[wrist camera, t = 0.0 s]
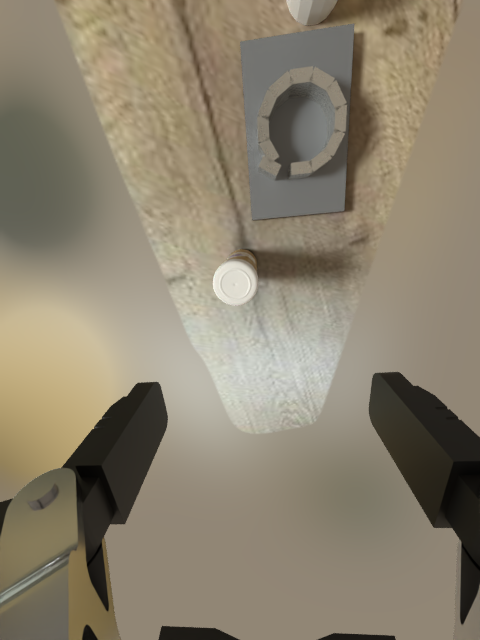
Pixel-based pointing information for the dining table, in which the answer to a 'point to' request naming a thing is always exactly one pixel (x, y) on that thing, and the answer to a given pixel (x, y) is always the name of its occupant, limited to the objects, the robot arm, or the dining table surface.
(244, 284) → the sprinkles bottle
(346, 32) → the socket plate
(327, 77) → the stone block collar
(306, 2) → the white tapered cup
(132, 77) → the dining table surface
